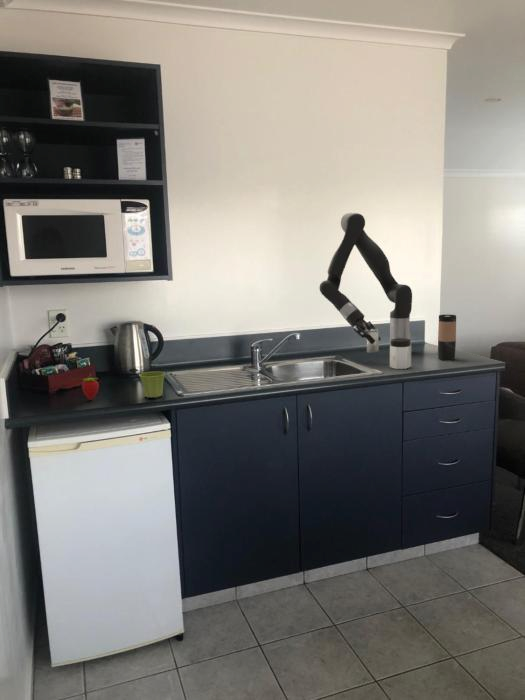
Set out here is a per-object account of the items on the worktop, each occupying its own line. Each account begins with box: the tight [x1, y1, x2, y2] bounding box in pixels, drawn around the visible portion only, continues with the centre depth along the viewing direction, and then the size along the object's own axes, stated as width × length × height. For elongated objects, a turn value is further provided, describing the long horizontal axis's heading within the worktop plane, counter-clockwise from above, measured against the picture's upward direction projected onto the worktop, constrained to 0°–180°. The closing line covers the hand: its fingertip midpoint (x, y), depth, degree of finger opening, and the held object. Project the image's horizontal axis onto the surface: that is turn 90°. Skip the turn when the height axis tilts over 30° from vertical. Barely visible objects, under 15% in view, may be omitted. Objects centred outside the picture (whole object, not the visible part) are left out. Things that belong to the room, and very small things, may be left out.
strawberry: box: [81, 373, 100, 400], centre depth 201 cm, size 6×8×10 cm
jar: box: [389, 338, 412, 370], centre depth 241 cm, size 9×8×12 cm
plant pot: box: [138, 370, 166, 398], centre depth 203 cm, size 9×9×9 cm
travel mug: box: [437, 314, 457, 361], centre depth 254 cm, size 8×8×20 cm
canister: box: [366, 328, 380, 354], centre depth 252 cm, size 5×5×10 cm
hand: (376, 341), depth 251 cm, fingers closed on canister, 5 cm apart
